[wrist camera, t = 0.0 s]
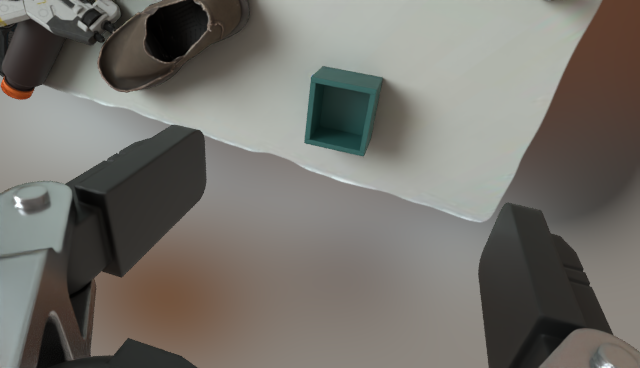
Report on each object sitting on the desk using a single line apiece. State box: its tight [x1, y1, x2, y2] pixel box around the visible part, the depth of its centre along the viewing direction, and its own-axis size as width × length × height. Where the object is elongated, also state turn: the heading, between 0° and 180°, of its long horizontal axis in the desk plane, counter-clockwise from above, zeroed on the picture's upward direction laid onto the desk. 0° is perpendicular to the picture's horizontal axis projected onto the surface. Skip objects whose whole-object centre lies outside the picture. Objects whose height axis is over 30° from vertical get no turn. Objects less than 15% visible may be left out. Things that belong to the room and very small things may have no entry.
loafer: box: [97, 0, 249, 93], centre depth 61 cm, size 11×30×11 cm, turn 121°
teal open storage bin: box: [304, 66, 383, 156], centre depth 61 cm, size 11×10×7 cm
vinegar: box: [1, 18, 66, 100], centre depth 71 cm, size 7×7×20 cm
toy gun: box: [0, 0, 121, 45], centre depth 63 cm, size 4×23×15 cm
